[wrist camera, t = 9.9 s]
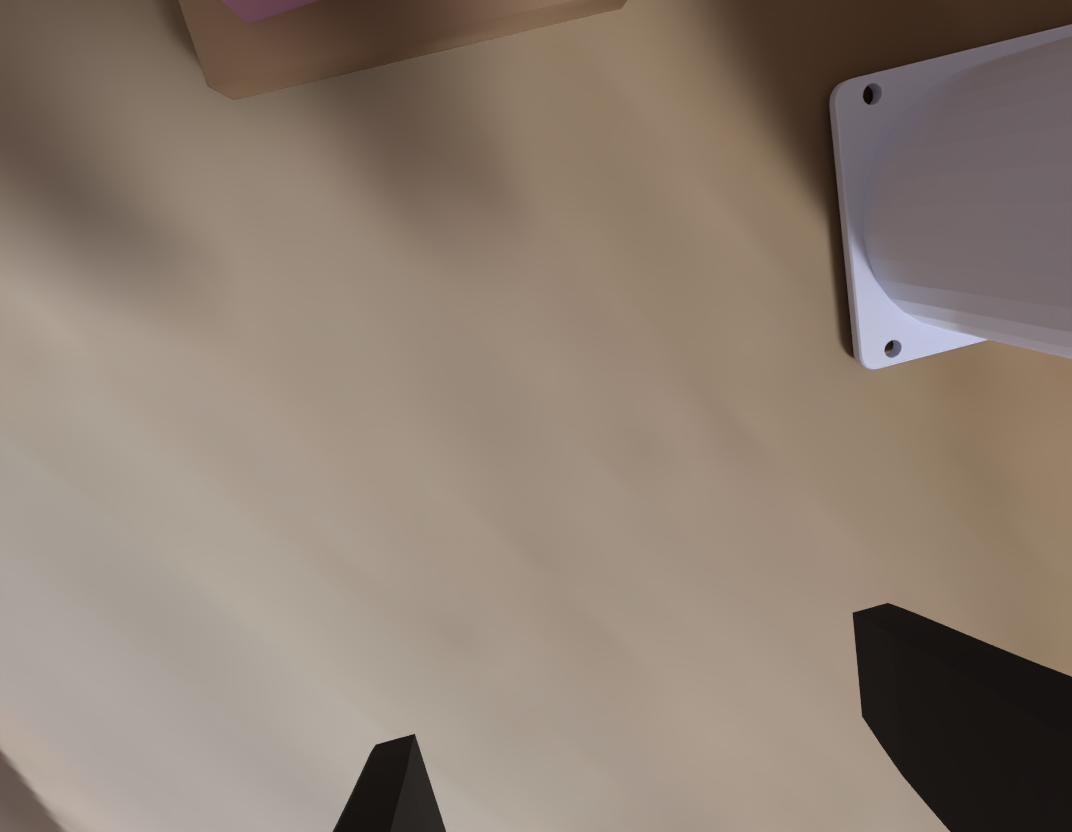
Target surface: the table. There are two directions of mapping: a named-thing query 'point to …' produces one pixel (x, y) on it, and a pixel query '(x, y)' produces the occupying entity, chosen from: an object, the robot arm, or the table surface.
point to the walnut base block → (353, 35)
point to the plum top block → (262, 8)
